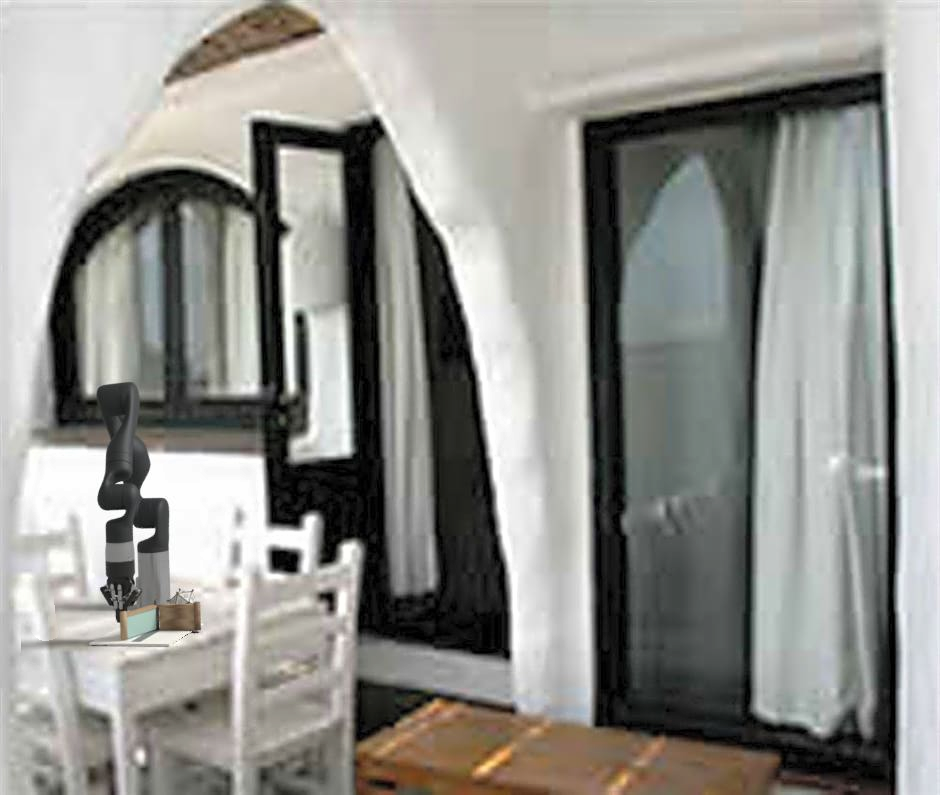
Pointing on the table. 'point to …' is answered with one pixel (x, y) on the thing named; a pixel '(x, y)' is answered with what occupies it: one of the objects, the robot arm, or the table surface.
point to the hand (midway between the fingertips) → (121, 622)
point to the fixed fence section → (178, 616)
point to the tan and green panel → (137, 621)
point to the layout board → (142, 638)
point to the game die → (183, 597)
